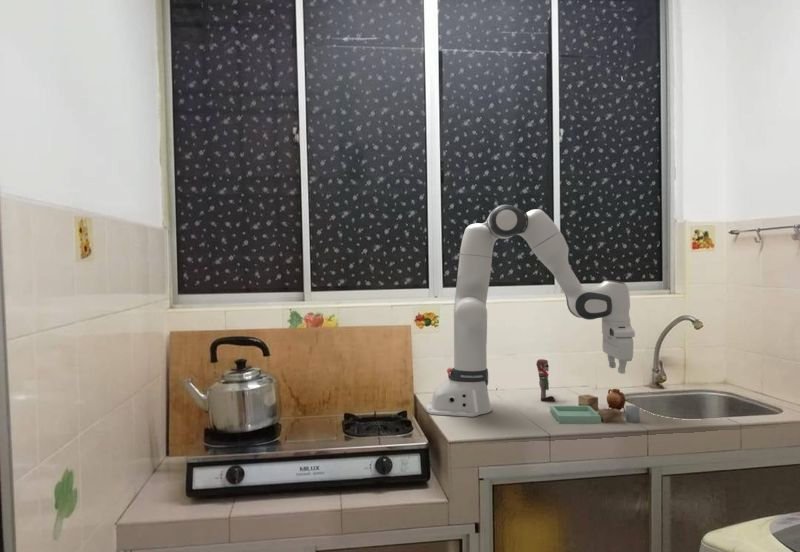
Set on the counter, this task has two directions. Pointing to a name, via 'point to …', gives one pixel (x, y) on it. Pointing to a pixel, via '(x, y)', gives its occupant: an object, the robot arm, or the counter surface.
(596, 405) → the oak cube
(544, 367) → the toy
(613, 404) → the pot
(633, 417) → the blue-grey cube
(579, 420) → the tray
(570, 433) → the counter surface
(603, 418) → the walnut block
